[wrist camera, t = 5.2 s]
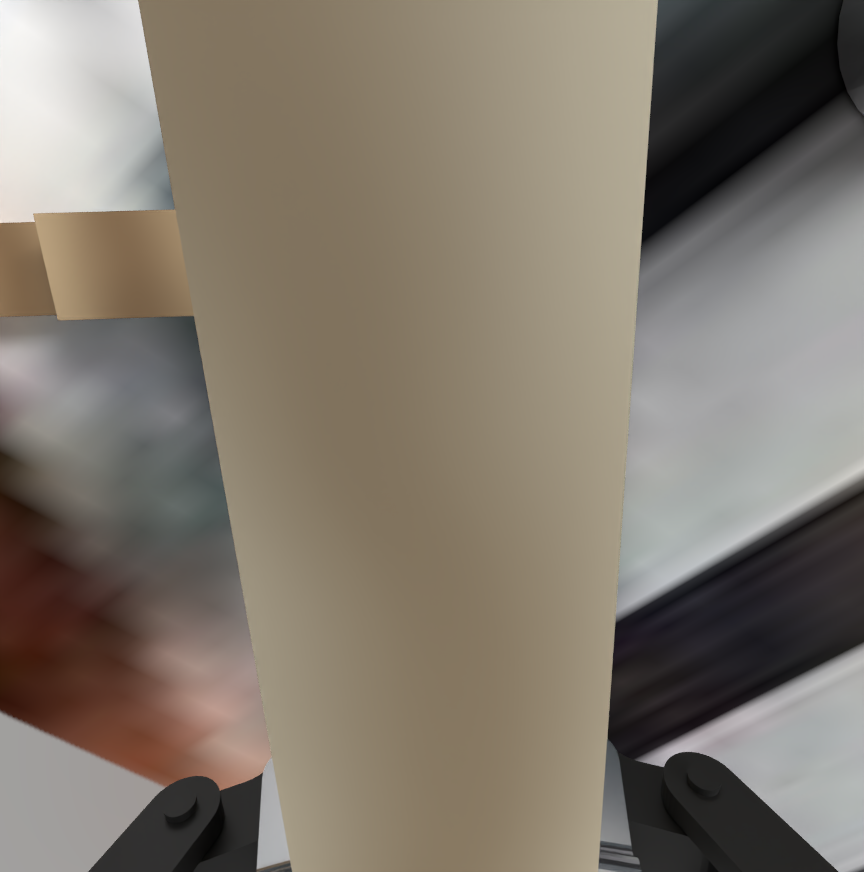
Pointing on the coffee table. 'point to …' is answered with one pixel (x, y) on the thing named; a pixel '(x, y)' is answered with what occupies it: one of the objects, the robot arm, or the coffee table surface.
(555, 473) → the birch slotted plate
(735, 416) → the coffee table surface
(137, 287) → the oak slotted rail
